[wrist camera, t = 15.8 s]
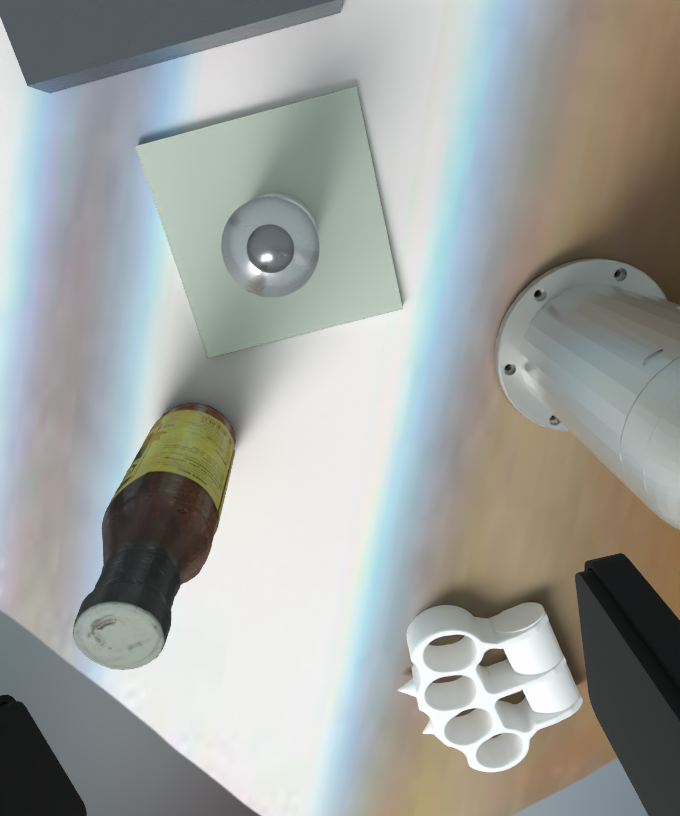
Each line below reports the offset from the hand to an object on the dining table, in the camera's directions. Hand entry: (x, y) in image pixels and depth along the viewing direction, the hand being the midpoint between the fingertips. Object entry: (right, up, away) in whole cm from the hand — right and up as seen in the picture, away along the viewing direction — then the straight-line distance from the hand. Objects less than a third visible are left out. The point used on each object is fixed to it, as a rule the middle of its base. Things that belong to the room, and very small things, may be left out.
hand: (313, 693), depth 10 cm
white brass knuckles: (+13, -19, +45) cm, 50 cm away
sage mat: (-4, +16, +29) cm, 34 cm away
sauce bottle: (-10, +2, +35) cm, 36 cm away
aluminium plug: (-4, +16, +29) cm, 33 cm away
